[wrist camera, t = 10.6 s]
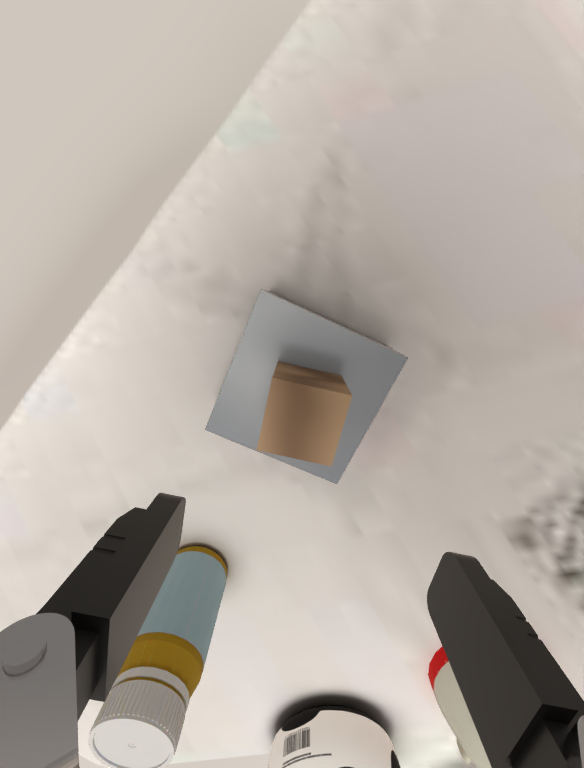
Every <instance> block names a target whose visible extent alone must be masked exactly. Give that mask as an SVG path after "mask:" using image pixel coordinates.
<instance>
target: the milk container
mask: <svg viewBox="0 0 584 768" xmlns="http://www.w3.org/2000/svg"><path fill="white" fill-rule="evenodd" d="M268 768H400V765H399V761H398V758H397V755H396V752H395V749H394V747H393V744H392V742H391V740H390V738H389V736H388V735H387V733H386V732H385V730H384V729H383V727H382V726H381V725H380V724H379V723H377V722H376V721H375V720H373V719H371V718H370V717H368V716H367V715H365V714H364V713H362V712H360V711H356V710H352V709H349V708H346V707H333V706H321V707H317V708H312V709H307V710H304V711H302V712H301V713H299V714H297V715H295V716H293V717H291V718H290V719H289V720H287V721H286V722H285V723H284V724H283V725H282V726H281V727H280V729H279V730H278V731H277V733H276V736H275V738H274V740H273V743H272V746H271V751H270V756H269V762H268Z"/></svg>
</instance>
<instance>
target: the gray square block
mask: <svg viewBox="0 0 584 768" xmlns="http://www.w3.org/2000/svg"><path fill="white" fill-rule="evenodd" d="M407 359H408V357H406V356H404V355H402V354H400V353H399V352H397V351H395V350H393V349H391V348H389V347H388V346H385V345H383V344H381V343H379V342H377V341H375V340H372V339H370V338H368V337H366V336H364V335H362V334H360V333H357V332H355V331H353V330H351V329H349V328H347V327H344V326H342V325H340V324H338V323H336V322H334V321H331V320H329V319H327V318H325V317H323V316H321V315H319V314H316V313H314V312H312V311H310V310H308V309H306V308H303V307H301V306H299V305H297V304H295V303H293V302H290V301H288V300H286V299H284V298H282V297H280V296H278V295H275V294H273V293H271V292H269V291H265V290H261V291H260V293H259V296H258V298H257V301H256V303H255V306H254V308H253V311H252V313H251V316H250V318H249V321H248V323H247V326H246V328H245V331H244V333H243V336H242V338H241V341H240V343H239V346H238V348H237V351H236V353H235V356H234V358H233V361H232V363H231V366H230V368H229V371H228V373H227V376H226V378H225V381H224V383H223V386H222V388H221V391H220V393H219V396H218V398H217V401H216V403H215V406H214V408H213V411H212V413H211V416H210V418H209V421H208V423H207V426H206V428H205V430H207V431H209V432H212V433H214V434H216V435H219V436H221V437H224V438H226V439H229V440H231V441H233V442H236V443H238V444H241V445H243V446H246V447H248V448H250V449H253V450H255V451H257V446H258V441H259V437H260V432H261V427H262V423H263V418H264V413H265V409H266V404H267V399H268V395H269V390H270V385H271V381H272V377H273V374H274V371H275V368H276V365H277V363H278V361H280V362H284V363H289V364H293V365H297V366H302V367H306V368H311V369H315V370H319V371H324V372H328V373H333V374H337V375H341V376H342V377H343V379H344V381H345V383H346V385H347V387H348V389H349V390H350V392H351V394H352V398H351V402H350V405H349V409H348V412H347V415H346V419H345V422H344V425H343V429H342V432H341V436H340V439H339V442H338V446H337V449H336V453H335V456H334V459H333V463H332V466H327V465H322V464H318V463H313V462H308V461H304V460H299V459H294V458H290V457H285V456H280V455H276V454H271V453H267V452H262V451H258V452H260V453H263V454H265V455H267V456H270V457H272V458H275V459H277V460H280V461H282V462H284V463H287V464H289V465H292V466H294V467H296V468H299V469H301V470H304V471H306V472H309V473H311V474H313V475H316V476H318V477H321V478H323V479H326V480H328V481H330V482H333V483H335V484H337V483H338V481H339V480H340V478H341V476H342V474H343V472H344V471H345V469H346V467H347V465H348V464H349V462H350V460H351V458H352V456H353V455H354V453H355V451H356V449H357V448H358V446H359V444H360V442H361V440H362V439H363V437H364V435H365V433H366V432H367V430H368V428H369V426H370V424H371V423H372V421H373V419H374V417H375V416H376V414H377V412H378V410H379V408H380V407H381V405H382V403H383V401H384V400H385V398H386V396H387V394H388V392H389V391H390V389H391V387H392V385H393V384H394V382H395V380H396V378H397V376H398V375H399V373H400V371H401V369H402V368H403V366H404V364H405V362H406V360H407Z"/></svg>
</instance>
